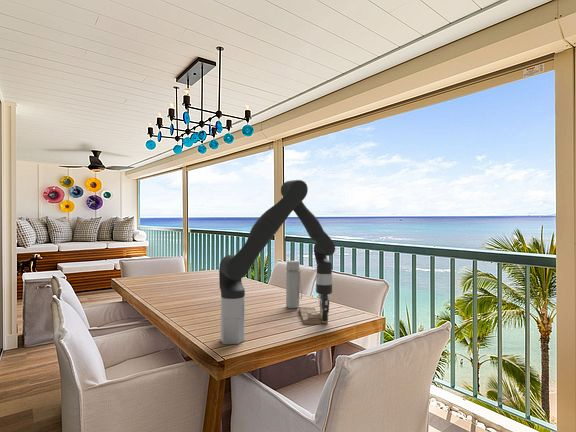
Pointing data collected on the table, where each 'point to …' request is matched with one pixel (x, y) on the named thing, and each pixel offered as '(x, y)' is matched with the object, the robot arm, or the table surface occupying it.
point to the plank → (305, 317)
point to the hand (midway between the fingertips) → (323, 319)
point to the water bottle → (293, 284)
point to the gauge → (318, 315)
